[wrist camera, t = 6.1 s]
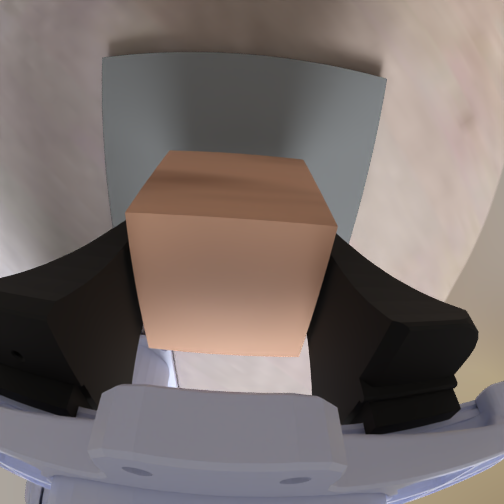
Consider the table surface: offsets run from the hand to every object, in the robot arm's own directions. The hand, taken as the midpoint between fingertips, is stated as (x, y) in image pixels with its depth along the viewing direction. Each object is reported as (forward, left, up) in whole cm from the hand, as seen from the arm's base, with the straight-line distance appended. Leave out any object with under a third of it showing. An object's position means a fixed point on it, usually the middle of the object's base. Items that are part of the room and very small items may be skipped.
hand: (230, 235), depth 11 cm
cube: (0, 0, -2) cm, 2 cm away
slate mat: (0, 0, -5) cm, 5 cm away
